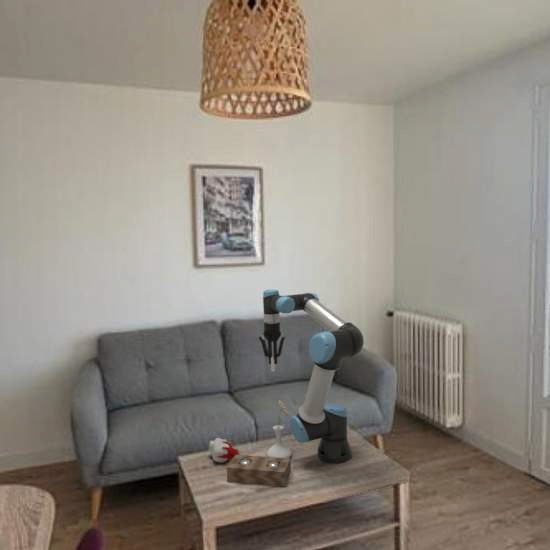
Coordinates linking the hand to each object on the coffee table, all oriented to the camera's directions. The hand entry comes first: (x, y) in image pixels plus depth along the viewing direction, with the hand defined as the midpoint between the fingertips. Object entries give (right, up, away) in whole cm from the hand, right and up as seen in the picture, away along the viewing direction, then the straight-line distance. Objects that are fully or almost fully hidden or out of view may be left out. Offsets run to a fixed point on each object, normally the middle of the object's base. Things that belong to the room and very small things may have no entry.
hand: (273, 370), depth 240 cm
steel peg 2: (0, -37, -35) cm, 51 cm away
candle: (-22, -37, -17) cm, 46 cm away
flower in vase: (+3, -36, -15) cm, 39 cm away
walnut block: (-6, -38, -33) cm, 51 cm away
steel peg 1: (-11, -37, -32) cm, 50 cm away
